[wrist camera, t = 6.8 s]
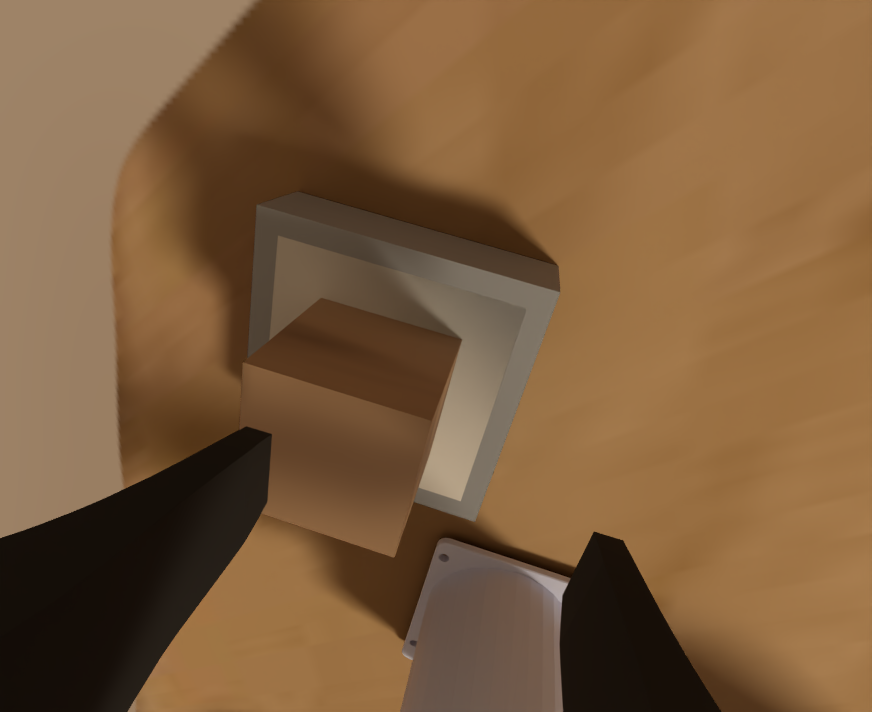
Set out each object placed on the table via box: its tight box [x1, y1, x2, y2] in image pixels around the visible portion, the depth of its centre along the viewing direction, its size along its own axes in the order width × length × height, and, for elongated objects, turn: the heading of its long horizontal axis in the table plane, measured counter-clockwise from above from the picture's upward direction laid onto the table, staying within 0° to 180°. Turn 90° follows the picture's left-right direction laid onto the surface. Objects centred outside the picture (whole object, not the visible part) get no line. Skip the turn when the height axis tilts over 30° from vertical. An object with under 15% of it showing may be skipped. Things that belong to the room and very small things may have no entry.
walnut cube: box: [239, 298, 462, 558], centre depth 16 cm, size 5×5×5 cm
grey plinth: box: [247, 191, 560, 522], centre depth 19 cm, size 10×10×3 cm
